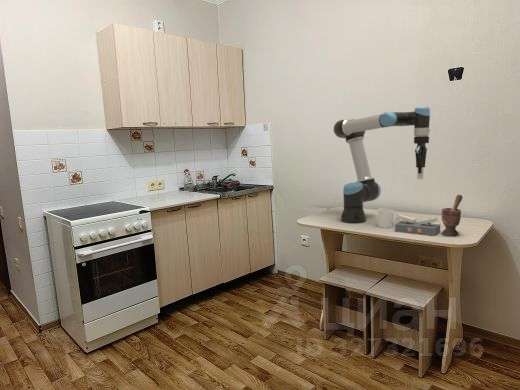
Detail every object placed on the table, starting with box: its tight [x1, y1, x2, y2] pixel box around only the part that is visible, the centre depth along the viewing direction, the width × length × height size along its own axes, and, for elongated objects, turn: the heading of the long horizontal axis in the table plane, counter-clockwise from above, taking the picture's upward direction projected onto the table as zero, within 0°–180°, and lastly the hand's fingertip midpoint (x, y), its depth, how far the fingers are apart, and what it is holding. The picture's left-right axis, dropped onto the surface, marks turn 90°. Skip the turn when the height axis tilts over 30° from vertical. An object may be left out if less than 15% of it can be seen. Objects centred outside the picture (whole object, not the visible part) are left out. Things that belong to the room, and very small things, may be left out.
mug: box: [377, 207, 400, 229], centre depth 208 cm, size 8×12×10 cm, turn 49°
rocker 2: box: [418, 216, 439, 224], centre depth 191 cm, size 8×4×2 cm, turn 50°
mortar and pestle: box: [441, 194, 463, 237], centre depth 186 cm, size 12×9×20 cm
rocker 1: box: [398, 214, 417, 223], centre depth 198 cm, size 8×4×2 cm, turn 50°
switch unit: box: [394, 220, 441, 237], centre depth 195 cm, size 20×10×5 cm, turn 50°
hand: (420, 179), depth 202 cm, fingers closed
